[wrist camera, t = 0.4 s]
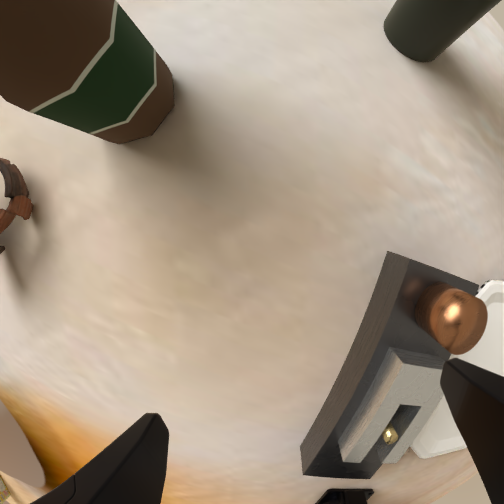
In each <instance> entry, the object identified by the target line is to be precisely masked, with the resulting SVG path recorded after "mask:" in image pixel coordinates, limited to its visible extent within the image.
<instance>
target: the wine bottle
mask: <svg viewBox="0 0 504 504" xmlns="http://www.w3.org/2000/svg"><path fill="white" fill-rule="evenodd" d="M500 1H501V0H397V1H396V2H395V4H394V6H393V7H392V9H391V11H390V12H389V14H388V16H387V17H386V19H385V21H384V31H385V34H386V36H387V38H388V39H389V41H390V42H391V43H392V44H393V46H394V47H395V48H396V49H398V50H399V51H400V52H401V53H403V54H404V55H406V56H407V57H409V58H411V59H414V60H416V61H420V62H429V61H432V60H434V59H435V58H436V57H437V56H438V55H440V54H441V53H442V52H443V51H444V50H445V49H446V48H447V47H449V46H450V45H451V44H452V43H453V42H454V41H455V40H456V39H458V38H459V37H460V36H461V35H462V34H463V33H464V32H465V31H467V30H468V29H469V28H470V27H471V26H472V25H473V24H475V23H476V22H477V21H478V20H479V19H480V18H481V17H483V16H484V15H485V14H486V13H487V12H488V11H489V10H491V9H492V8H493V7H494V6H495V5H496V4H498V3H499V2H500Z"/></svg>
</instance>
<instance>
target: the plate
mask: <svg viewBox="0 0 504 504" xmlns="http://www.w3.org/2000/svg"><path fill="white" fill-rule="evenodd" d="M475 297H477V298H479V299H481V300H482V301H483V302H484V303H485V305H486V307H487V312H488V319H487V325H486V329H485V331H484V333H483V336H482V337H481V339H480V340H479V342H478V343H477V344H476V345H475V346H474V347H473V348H472V349H471V350H470V351H468V352H466V353H464V354H461V355H454V354H451V356H450V358H449V359H452V358H459V359H461V360H464V361H466V362H469V363H471V364H474V365H476V366H478V367H481V368H483V369H486V370H488V371H491V372H493V373H496V374H498V375H501V376H503V377H504V281H500V280H489V281H487V282H485V283H484V284H483V285H482V286H481V287H480V289H479V290H478V291H477V293H476V296H475ZM410 447H411V448H412V450H413V451H414V452H415V453H416V454H417V456H418V457H419V458H422V459H426V458H430V457H435V456H439V455H443V454H447V453H450V452H454V451H458V450H461V449H464V448H467V446H466V444H465V442H464V440H463V438H462V436H461V434H460V432H459V430H458V428H457V426H456V424H455V421H454V419H453V417H452V414H451V411H450V409H449V406H448V403H447V401H446V398H445V396H444V395H443V397H442V399H441V400H440V402H439V404H438V405H437V407H436V408H435V410H434V412H433V413H432V415H431V416H430V418H429V419H428V421H427V422H426V424H425V425H424V427H423V428H422V430H421V431H420V433H419V434H418V435H417V437H416V438H415V440H414V441H413V442H412V444H411V445H410Z"/></svg>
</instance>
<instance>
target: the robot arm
mask: <svg viewBox="0 0 504 504" xmlns="http://www.w3.org/2000/svg"><path fill="white" fill-rule="evenodd" d="M440 386H441V389H442V391H443V393H444V396H445V398H446V401H447V403H448V406H449V409H450V411H451V414H452V417H453V419H454V421H455V424H456V426H457V428H458V430H459V432H460V434H461V436H462V438H463V440H464V442H465V444H466V446H467V448H468V450H469V452H470V454H471V456H472V458H473V461H474V463H475V465H476V467H477V469H478V472H479V474H480V476H481V479H482V481H483V483H484V486H485V488H486V491H487V493H488V496H489V498H490V500H491V503H492V504H504V377H503V376H501V375H498V374H496V373H493V372H491V371H488V370H486V369H483V368H481V367H478V366H476V365H474V364H471V363H469V362H466V361H464V360H461V359H459V358H452V359H449V360H447V361H445V363H444V365H443V369H442V374H441V378H440ZM168 443H169V431H168V428H167V427H166V425H165V423H164V421H163V420H162V418H161V416H160V415H159V414H158V413H146V414H144V415H143V416H142V417H141V418H140V419H139V420H137V421H136V422H135V423H134V424H133V425H132V426H131V427H130V428H128V429H127V430H126V431H125V432H124V433H123V434H121V435H120V436H119V437H118V438H117V439H116V440H115V441H113V442H112V443H111V444H110V445H109V446H107V447H106V448H105V449H104V450H103V451H102V452H100V453H99V454H98V455H97V456H96V457H94V458H93V459H92V460H91V461H90V462H88V463H87V464H86V465H85V466H83V467H82V468H81V469H80V470H79V471H77V472H76V473H75V475H72V476H71V477H70V478H68V479H67V480H66V481H65V482H63V483H62V484H61V485H59V486H58V487H56V488H55V489H53V490H52V491H50V492H49V493H47V494H46V495H44V496H42V497H41V498H39V499H37V500H36V501H34V502H32V503H30V504H160V503H161V498H162V493H163V487H164V482H165V477H166V469H167V455H168ZM373 493H374V491H373V489H362V490H355V489H329V490H327V491H326V492H325V493H324V494H323V496H322V497H321V498H320V499H319V500H318V501H317V502H316V503H315V504H368V503H367V500H368V499H369V498H370V496H371V495H372V494H373Z"/></svg>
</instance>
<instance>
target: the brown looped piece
mask: <svg viewBox="0 0 504 504" xmlns="http://www.w3.org/2000/svg"><path fill="white" fill-rule="evenodd" d="M0 171H1V173H2V175H3V177H4V180H5V197H9V198H11V200H10V202H9V206H8V208H7V210H4V209H0V234H1V232H3V231H4V230H5V229H6V228H7V227H8V226H9V225H10V224H11V222H12V221H13V219H14V218H15V216H16V215H18V216H21V217H23V219H24V220H27V219H29V218H30V216H31V212H32V208H33V204H32V203H31V200H30V199H29V198H28V195H29V192H28V189H27V186H26V183H25V181H24V179H23V176H22V174H21V172H20V171H19V169H18V168H17V166H16V165H14V164H12V165H11V164H10V161H9V160H6V159H2V158H0ZM4 250H5V246H0V254H1V253H2V252H3V251H4Z"/></svg>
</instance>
